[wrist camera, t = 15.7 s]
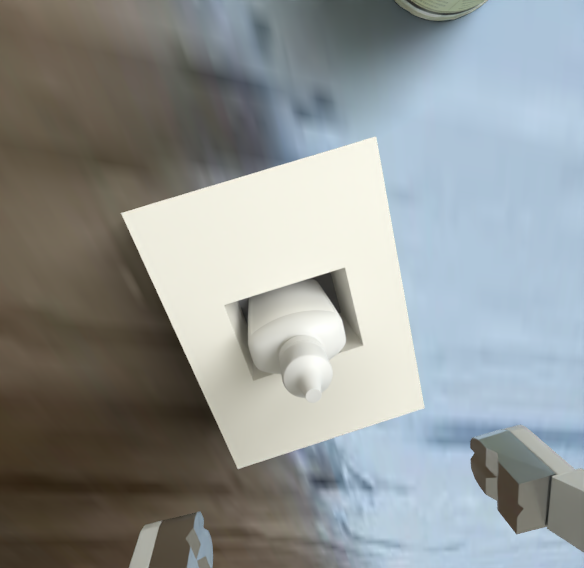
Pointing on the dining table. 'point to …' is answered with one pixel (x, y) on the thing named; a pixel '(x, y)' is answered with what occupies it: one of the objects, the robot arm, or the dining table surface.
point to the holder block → (278, 273)
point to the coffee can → (440, 8)
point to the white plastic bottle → (296, 336)
